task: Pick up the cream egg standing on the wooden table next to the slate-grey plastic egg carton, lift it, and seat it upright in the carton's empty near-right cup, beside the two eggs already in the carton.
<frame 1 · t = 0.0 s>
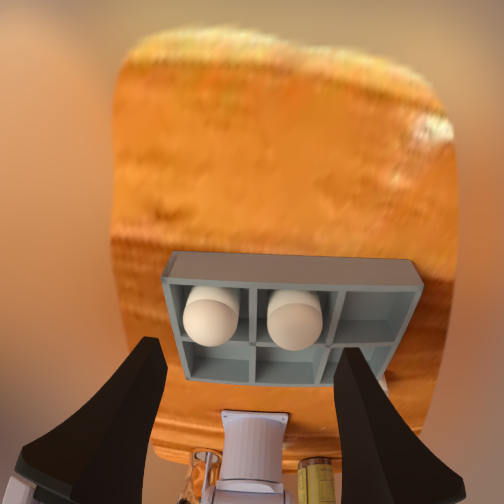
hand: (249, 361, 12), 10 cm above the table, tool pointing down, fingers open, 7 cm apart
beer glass: (206, 452, 44), on the table
egg c: (216, 291, 22), point 1 cm above the table, touching carton
carton: (289, 316, 24), on the table
egg b: (293, 295, 22), point 1 cm above the table, touching carton
sauce bottle: (315, 459, 44), on the table
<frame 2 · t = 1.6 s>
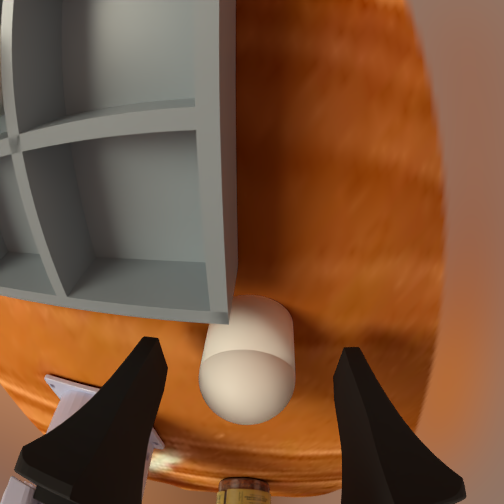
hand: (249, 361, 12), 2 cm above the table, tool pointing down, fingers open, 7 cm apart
carton: (20, 132, 9), on the table
sauce bottle: (246, 480, 29), on the table
egg: (251, 325, 13), on the table
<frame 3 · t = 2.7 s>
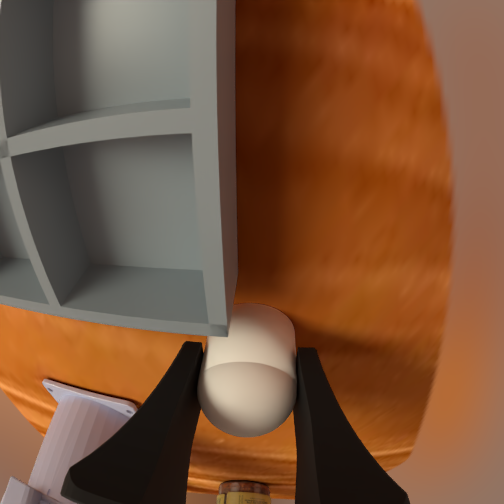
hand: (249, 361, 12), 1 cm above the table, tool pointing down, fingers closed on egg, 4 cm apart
carton: (12, 134, 8), on the table
sauce bottle: (246, 483, 29), on the table
egg: (251, 334, 13), on the table, touching gripper
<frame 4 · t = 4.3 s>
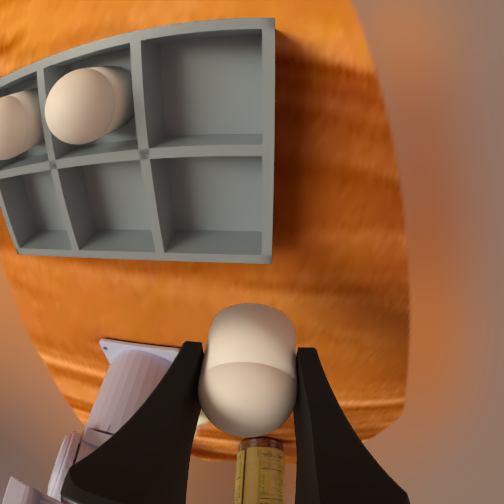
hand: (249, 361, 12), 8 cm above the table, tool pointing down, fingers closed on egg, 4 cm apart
egg c: (36, 115, 14), point 1 cm above the table, touching carton
carton: (120, 143, 15), on the table
egg b: (109, 98, 13), point 1 cm above the table, touching carton
sauce bottle: (262, 442, 36), on the table
egg: (252, 334, 13), point 7 cm above the table, touching gripper
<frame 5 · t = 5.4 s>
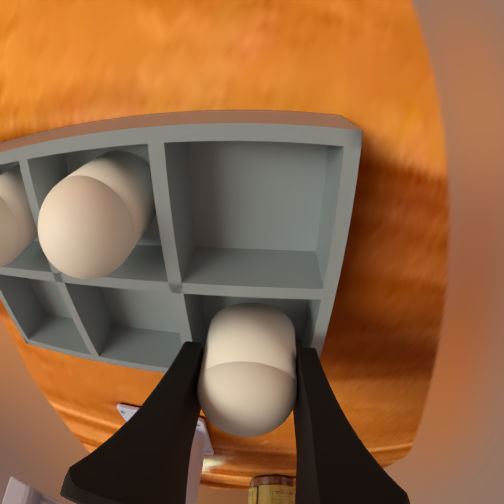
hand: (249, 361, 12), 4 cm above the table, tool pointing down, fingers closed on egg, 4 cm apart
egg c: (28, 197, 12), point 1 cm above the table, touching carton
carton: (136, 242, 14), on the table
egg b: (120, 192, 12), point 1 cm above the table, touching carton
sauce bottle: (273, 477, 34), on the table
egg: (251, 333, 13), point 3 cm above the table, touching gripper
when the fingers open (4 cm above the table, at t = 6.2 s): egg drops 2 cm, resting on carton.
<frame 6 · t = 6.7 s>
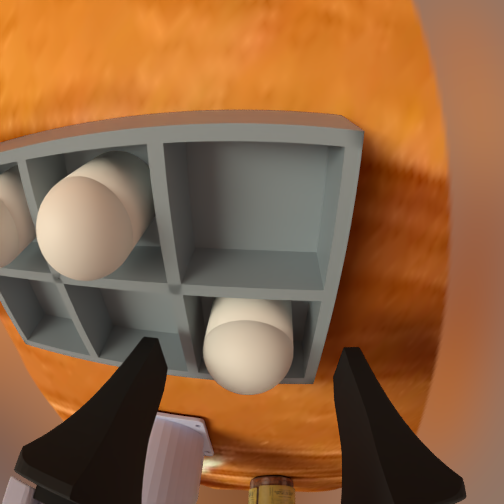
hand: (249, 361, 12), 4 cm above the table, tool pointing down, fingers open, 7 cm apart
egg c: (27, 198, 12), point 1 cm above the table, touching carton
carton: (135, 243, 14), on the table
egg b: (119, 192, 12), point 1 cm above the table, touching carton
sauce bottle: (273, 477, 34), on the table
egg: (252, 304, 14), point 1 cm above the table, touching carton
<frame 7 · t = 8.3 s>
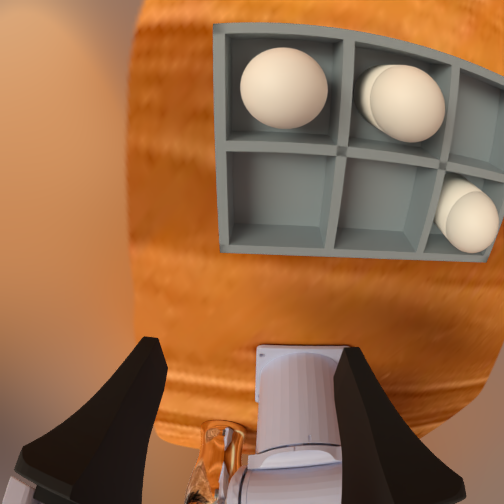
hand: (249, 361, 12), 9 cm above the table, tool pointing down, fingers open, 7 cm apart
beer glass: (223, 427, 36), on the table
egg c: (281, 85, 14), point 1 cm above the table, touching carton
carton: (377, 142, 15), on the table
egg b: (386, 96, 13), point 1 cm above the table, touching carton
egg: (449, 199, 16), point 1 cm above the table, touching carton
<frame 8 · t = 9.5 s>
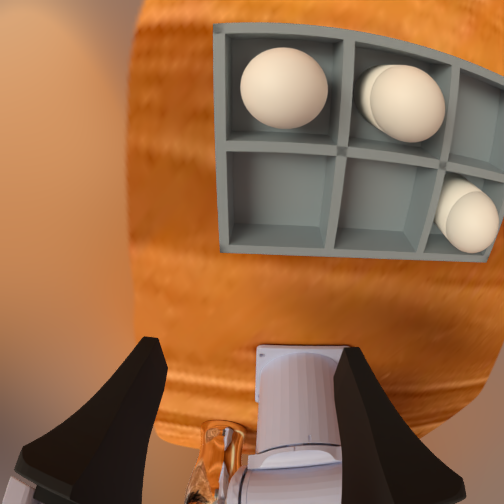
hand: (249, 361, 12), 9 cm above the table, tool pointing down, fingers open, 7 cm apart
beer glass: (223, 427, 36), on the table
egg c: (282, 85, 14), point 1 cm above the table, touching carton
carton: (377, 142, 15), on the table
egg b: (386, 96, 13), point 1 cm above the table, touching carton
egg: (449, 199, 16), point 1 cm above the table, touching carton
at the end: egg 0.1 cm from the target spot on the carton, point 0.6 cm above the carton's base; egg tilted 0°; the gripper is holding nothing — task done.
